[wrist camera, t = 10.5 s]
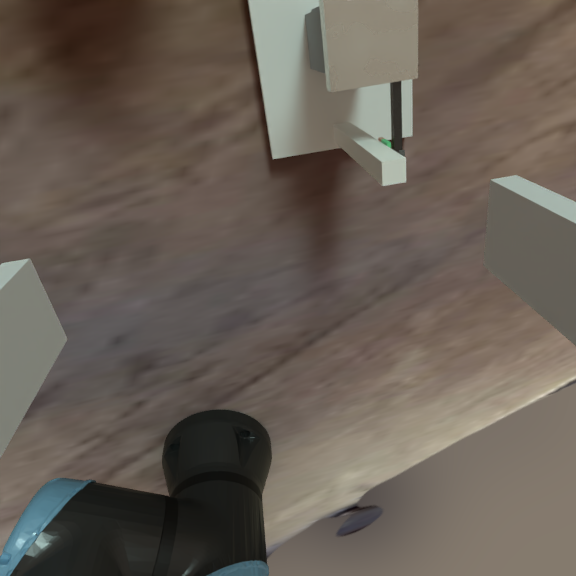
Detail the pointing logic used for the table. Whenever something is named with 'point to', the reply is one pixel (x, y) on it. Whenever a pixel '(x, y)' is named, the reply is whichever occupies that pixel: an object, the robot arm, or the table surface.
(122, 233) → the table surface
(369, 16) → the square paddle
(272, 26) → the stand
